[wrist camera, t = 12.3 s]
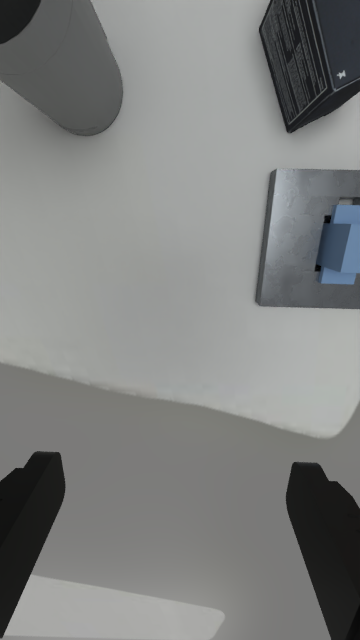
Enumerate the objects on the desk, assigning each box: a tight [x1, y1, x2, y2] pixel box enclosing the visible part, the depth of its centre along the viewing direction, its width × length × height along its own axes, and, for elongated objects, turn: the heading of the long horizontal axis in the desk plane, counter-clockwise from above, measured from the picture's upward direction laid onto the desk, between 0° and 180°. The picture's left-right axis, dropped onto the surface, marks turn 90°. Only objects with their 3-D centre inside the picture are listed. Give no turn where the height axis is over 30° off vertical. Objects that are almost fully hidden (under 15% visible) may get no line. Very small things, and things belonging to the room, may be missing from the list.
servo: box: [316, 205, 360, 284], centre depth 32 cm, size 9×4×7 cm, turn 178°
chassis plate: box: [255, 169, 360, 309], centre depth 34 cm, size 16×18×2 cm
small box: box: [259, 0, 360, 133], centre depth 25 cm, size 11×6×10 cm, turn 25°
